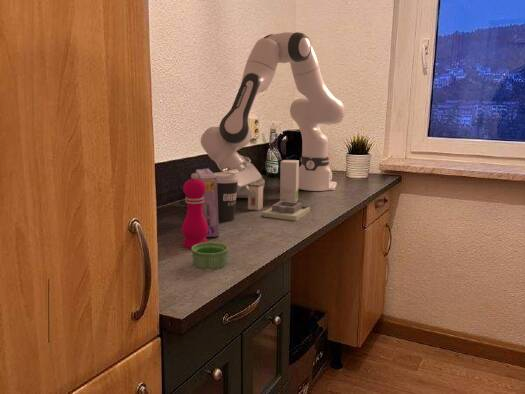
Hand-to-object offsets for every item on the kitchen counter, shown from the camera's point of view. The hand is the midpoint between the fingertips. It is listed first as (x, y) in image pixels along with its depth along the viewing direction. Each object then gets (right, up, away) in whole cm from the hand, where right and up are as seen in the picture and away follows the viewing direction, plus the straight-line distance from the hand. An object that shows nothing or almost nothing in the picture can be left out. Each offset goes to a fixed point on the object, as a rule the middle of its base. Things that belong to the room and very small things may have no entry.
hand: (257, 195), depth 174 cm
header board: (+10, -6, -6) cm, 13 cm away
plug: (-1, -5, +1) cm, 5 cm away
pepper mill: (-17, -14, -41) cm, 46 cm away
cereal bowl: (-6, 0, +22) cm, 22 cm away
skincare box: (+12, -2, +15) cm, 19 cm away
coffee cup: (-11, -8, -14) cm, 19 cm away
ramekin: (-11, -17, -55) cm, 59 cm away
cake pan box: (-15, -11, -26) cm, 32 cm away
